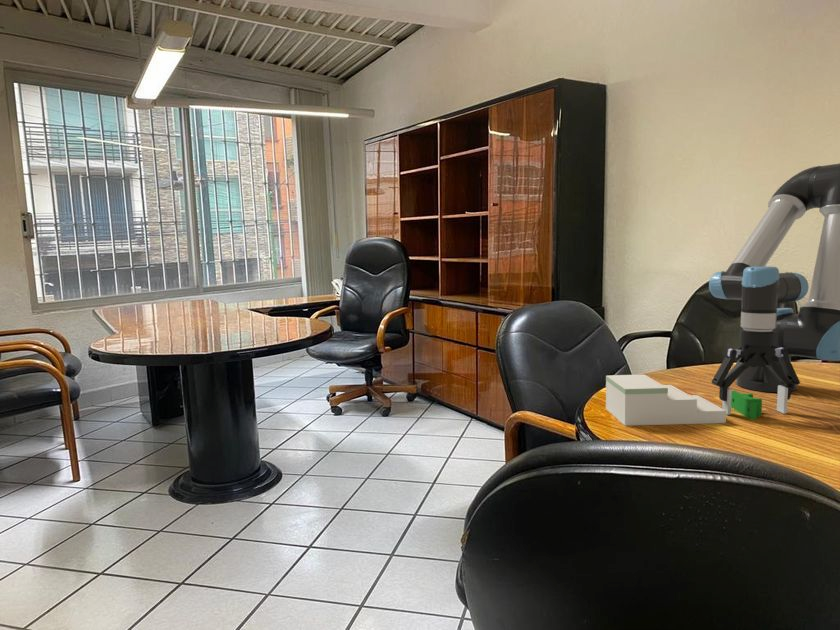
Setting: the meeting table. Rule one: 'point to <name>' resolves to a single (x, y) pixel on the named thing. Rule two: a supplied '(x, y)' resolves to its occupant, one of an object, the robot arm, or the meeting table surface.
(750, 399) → the pipe clamp
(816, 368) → the meeting table surface
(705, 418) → the stepped riser
